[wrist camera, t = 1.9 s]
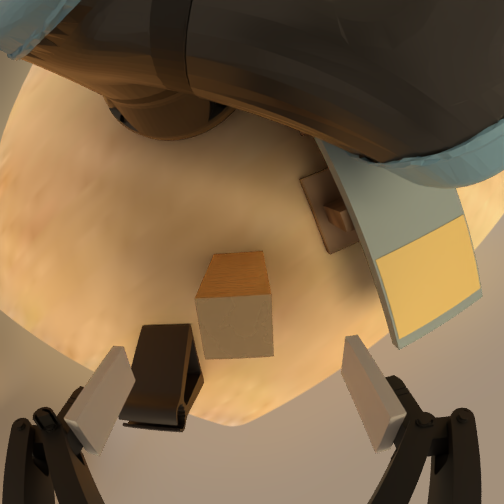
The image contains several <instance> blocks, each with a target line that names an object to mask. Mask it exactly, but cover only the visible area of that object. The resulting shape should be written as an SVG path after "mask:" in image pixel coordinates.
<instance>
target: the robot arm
mask: <svg viewBox="0 0 504 504" xmlns="http://www.w3.org/2000/svg"><path fill="white" fill-rule="evenodd" d="M0 50H1V51H3V52H5V53H7V56H8V58H10V59H12V60H16V61H17V60H20V59H22V60H25V61H27V62H30V63H32V64H34V65H37V66H39V67H42V68H44V69H46V70H49V71H51V72H53V73H56V74H58V75H60V76H62V77H65V78H67V79H69V80H71V81H73V82H76V83H78V84H80V85H82V86H84V87H86V88H88V89H90V90H92V91H94V92H97V93H99V94H101V95H103V97H104V99H105V101H106V103H107V105H108V107H109V109H110V110H111V112H112V114H113V115H114V116H115V118H116V119H117V120H118V121H119V122H120V123H121V124H122V125H124V126H125V127H126V128H128V129H129V130H131V131H133V132H135V133H137V134H140V135H143V136H145V137H148V138H152V139H157V140H168V141H169V140H181V139H186V138H190V137H194V136H197V135H199V134H202V133H204V132H206V131H208V130H210V129H212V128H213V127H215V126H217V125H218V124H219V123H221V122H222V121H223V120H225V119H226V118H227V117H228V116H229V115H230V114H231V113H232V112H233V111H234V110H235V109H236V108H237V109H240V110H243V111H246V112H249V113H252V114H255V115H258V116H261V117H264V118H267V119H270V120H273V121H275V122H278V123H281V124H283V125H286V126H289V127H291V128H294V129H296V130H299V131H301V132H304V133H306V134H309V135H311V136H314V137H316V138H318V139H321V140H323V141H325V142H327V143H330V144H332V145H334V146H336V147H339V148H341V149H343V150H345V151H346V153H347V154H348V155H349V156H350V157H352V158H353V159H355V160H357V161H359V162H362V163H364V164H366V165H370V166H374V167H375V166H376V167H380V168H384V169H386V170H388V171H390V172H392V173H394V174H396V175H398V176H400V177H402V178H404V179H406V180H408V181H410V182H412V183H415V184H418V185H421V186H425V187H434V188H441V189H451V188H460V187H465V186H469V185H473V184H476V183H479V182H482V181H484V180H486V179H489V178H491V177H493V176H494V175H496V174H498V173H500V172H501V171H503V170H504V0H0ZM341 374H342V376H343V379H344V381H345V383H346V385H347V388H348V390H349V392H350V394H351V396H352V399H353V401H354V404H355V406H356V408H357V411H358V413H359V415H360V417H361V420H362V422H363V425H364V427H365V429H366V432H367V434H368V436H369V439H370V441H371V443H372V446H373V448H374V451H375V453H379V452H382V451H386V450H389V449H390V448H391V446H392V444H393V442H394V444H395V447H396V450H395V452H394V454H393V456H392V457H391V461H390V463H389V465H388V467H387V469H386V471H385V473H384V475H383V477H382V479H381V481H380V482H379V485H378V486H377V488H376V490H375V492H374V494H373V495H372V497H371V499H370V500H369V502H368V504H408V503H409V501H410V498H411V496H412V494H413V492H414V489H415V487H416V485H417V482H418V480H419V477H420V474H421V472H422V469H423V466H424V463H425V461H426V458H427V456H431V474H430V486H429V496H428V504H481V468H480V454H479V445H478V437H477V430H476V423H475V417H474V414H473V413H472V412H471V411H470V410H469V409H467V408H458V409H456V410H454V411H453V413H452V414H451V416H448V417H440V418H435V417H434V416H433V415H432V414H430V413H428V412H423V411H422V410H421V408H420V407H419V405H418V404H417V402H416V401H415V399H414V398H413V396H412V395H411V393H410V392H409V390H408V389H407V388H406V386H405V384H404V383H403V381H402V380H401V379H399V378H398V377H396V376H395V375H393V376H390V377H384V375H383V373H382V372H381V370H380V369H379V367H378V366H377V364H376V363H375V361H374V359H373V358H372V356H371V355H370V353H369V352H368V350H367V348H366V347H365V345H364V344H363V342H362V341H361V339H360V338H359V336H358V335H353V336H346V337H345V345H344V353H343V361H342V369H341ZM134 383H135V378H134V375H133V373H132V370H131V367H130V364H129V361H128V358H127V355H126V352H125V349H124V347H122V346H113V347H112V348H111V350H110V351H109V353H108V354H107V355H106V357H105V358H104V359H103V361H102V362H101V364H100V365H99V367H98V368H97V369H96V371H95V372H94V374H93V375H92V377H91V378H90V379H89V381H88V383H87V384H86V385H85V387H81V386H80V387H79V388H78V389H76V390H75V391H74V392H73V394H72V395H71V397H70V398H69V399H68V401H67V403H66V404H65V405H64V407H63V408H62V410H61V411H60V412H59V414H58V415H57V416H56V415H55V413H54V412H53V410H52V409H51V408H48V407H42V408H40V409H38V410H37V411H35V413H34V414H33V420H34V421H35V423H36V424H37V425H31V423H30V422H29V420H28V419H26V418H20V419H17V420H16V421H15V422H14V423H13V425H12V428H11V433H10V438H9V443H8V449H7V456H6V463H5V471H4V481H3V498H2V504H55V496H54V490H55V493H56V496H57V499H58V502H59V504H105V503H104V501H103V499H102V497H101V495H100V493H99V491H98V489H97V487H96V485H95V482H94V480H93V478H92V475H91V473H90V471H89V468H88V466H87V463H86V461H85V458H84V455H83V454H82V452H81V450H82V448H83V447H84V448H85V450H86V451H87V452H88V453H90V454H93V455H97V456H100V455H101V453H102V451H103V448H104V446H105V444H106V442H107V439H108V437H109V435H110V433H111V431H112V429H113V426H114V424H115V422H116V420H117V418H118V416H119V414H120V412H121V410H122V407H123V405H124V403H125V401H126V399H127V397H128V395H129V393H130V391H131V389H132V387H133V385H134Z"/></svg>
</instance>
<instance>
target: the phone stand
mask: <svg viewBox="0 0 504 504" xmlns="http://www.w3.org/2000/svg"><path fill="white" fill-rule="evenodd" d="M131 370H132V373H133V375H134V378H135V383H134V385H133V387H132V389H131V391H130V393H129V395H128V397H127V399H126V401H125V403H124V405H123V407H122V410H121V412H120V414H119V416H118V417H119V419H120V420H128V421H129V422H128V423H123V426H125V427H132V428H140V429H148V430H158V431H171V432H183V431H184V429H185V425H186V419H187V415H188V413H189V411H190V409H191V407H192V405H193V403H194V401H195V399H196V398H197V396H198V394H199V392H200V390H201V388H202V386H203V384H204V379H203V375H202V371H201V367H200V363H199V359H198V356H197V351H196V347H195V342H194V338H193V334H192V329H191V325H190V324H187V325H160V326H142V329H141V333H140V336H139V340H138V344H137V347H136V351H135V355H134V359H133V363H132V367H131Z"/></svg>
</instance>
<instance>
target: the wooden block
mask: <svg viewBox="0 0 504 504" xmlns="http://www.w3.org/2000/svg"><path fill="white" fill-rule="evenodd" d="M195 303H196V309H197V315H198V321H199V327H200V333H201V339H202V344H203V350H204V355H205V359H237V358H256V357H270V356H274V353H273V325H272V300H271V290H270V285H269V280H268V275H267V270H266V265H265V260H264V255H263V251H256V252H240V253H225V254H214V255H213V258H212V260H211V262H210V265H209V267H208V269H207V271H206V274H205V276H204V278H203V281H202V283H201V285H200V288H199V290H198V292H197V295H196V297H195Z"/></svg>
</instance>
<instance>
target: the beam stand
mask: <svg viewBox="0 0 504 504" xmlns="http://www.w3.org/2000/svg"><path fill="white" fill-rule="evenodd" d="M300 134H301V136H302V135H305V134H306V133H304V132H301V131H300ZM300 183H301V185H302V187H303V190H304V192H305V195H306V197H307V200H308V202H309V205H310V207H311V210H312V212H313V215H314V217H315V220H316V223H317V225H318V228H319V230H320V233H321V236H322V238H323V241H324V244H325V247H326V249H327V252H328V253H329V254H332V253H335V252H337V251H339V250H341V249H344V248H346V247H348V246H350V245H352V244H355V243H357V242H359V241H360V240H359V238H358V235H357V232H356V230H355V227H354V225H353V222H352V220H351V217H350V215H349V213H348V210H347V208H346V205H345V203H344V201H343V198H342V196H341V194H340V192H339V189H338V187H337V185H336V183H335V180H334V178H333V176H332V174H331V172H330V170H329V168H327V169H325V170H322V171H319V172H317V173H314V174H312V175H309V176H307V177H304V178H302V179H300Z"/></svg>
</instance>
